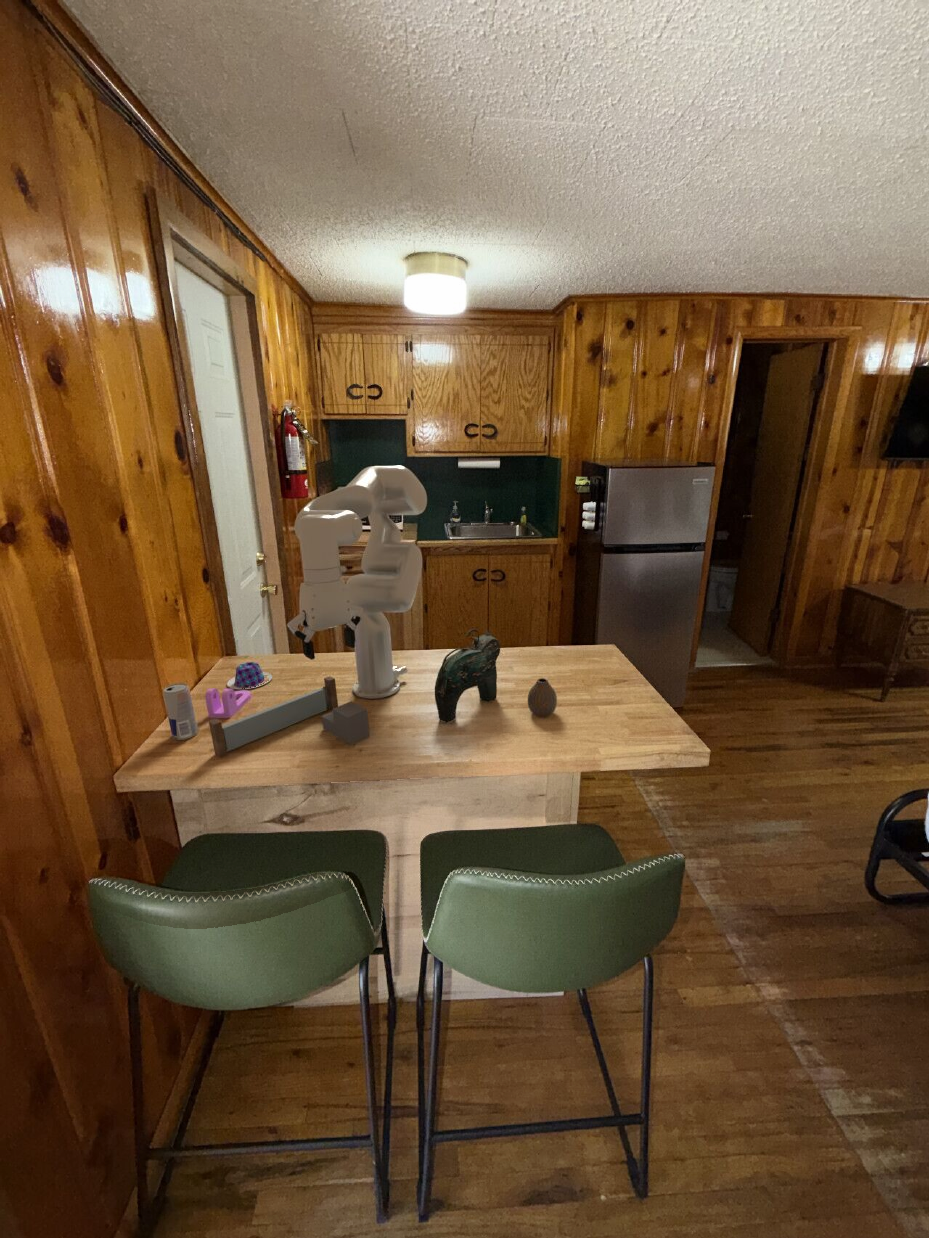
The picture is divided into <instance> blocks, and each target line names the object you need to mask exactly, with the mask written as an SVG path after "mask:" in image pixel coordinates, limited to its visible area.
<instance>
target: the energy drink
mask: <svg viewBox="0 0 929 1238" xmlns="http://www.w3.org/2000/svg"><path fill="white" fill-rule="evenodd" d="M162 696H163V697H162V698H163V700H164V706H165V709H166V715H167V718H168V719H167V720H168V724H169V727H170V732H171V737H172V738H173V739H174V740H176V741H185V740H189V739H191V738H193V737H195V736H196V735H197V733H198V732H199V728H198V725H197V719H196V714H195V709H194V704H193V699H192V695H191V690H190V686H189V685H188V684H187V683H186V682H185V683H184V682H177V683H172V684H169V685H167V686H166V687H164V688H163V692H162Z"/></svg>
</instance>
